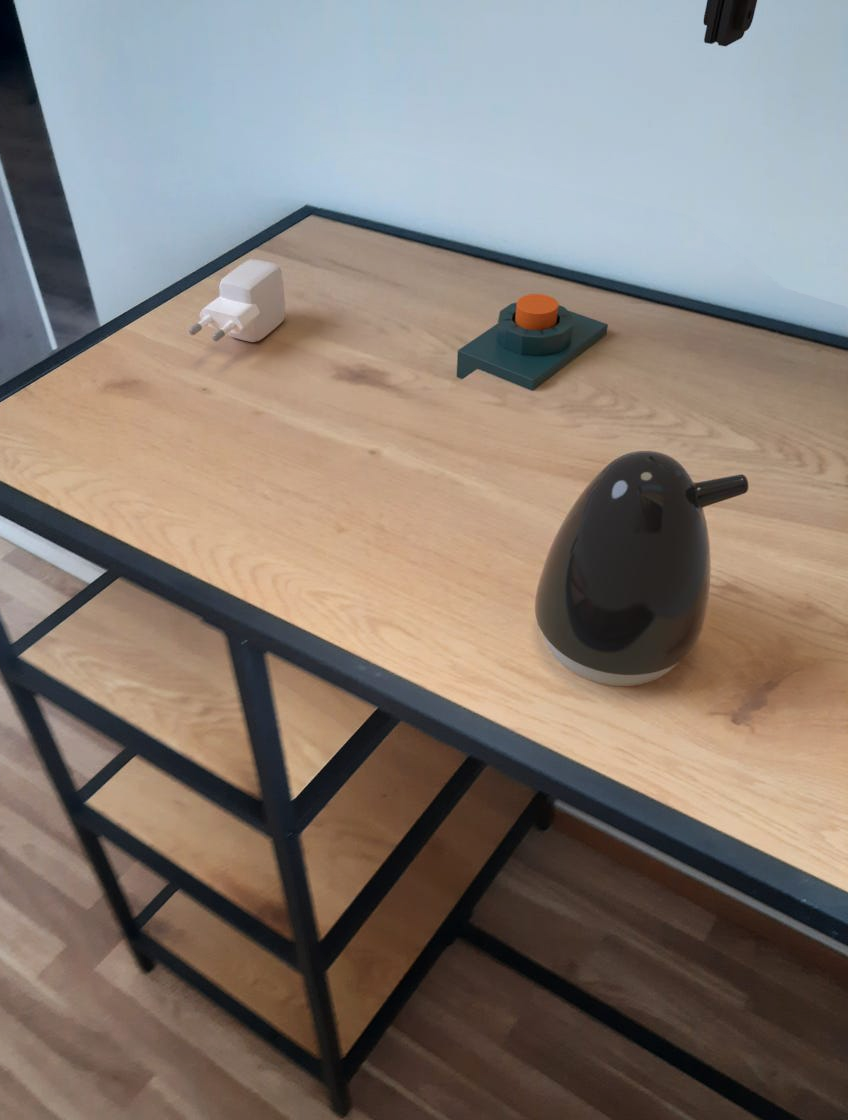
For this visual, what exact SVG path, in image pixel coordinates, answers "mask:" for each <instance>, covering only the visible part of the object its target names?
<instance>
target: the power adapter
mask: <svg viewBox="0 0 848 1120" xmlns="http://www.w3.org/2000/svg"><path fill="white" fill-rule="evenodd" d="M282 271H283V270H282V269H281V267H280V266H279V265H278V264H277V263H274V262H270V261H266V260H261V259H253V258H250V259H247V260H246V261H244V262H243V263H241V264H240V265H238V266H237V267H235V268H234V269H233V270H231V271H229V272H228V273H227V274H226V275H225V276H224V277H222V278H221V280H220V283H219V287H218V291H219V296H218V297H216V298H215V299H213V300H212V301H211V302H210V303H208V304H207V305H205V306H204V307H203V308H201V311H200V313H199V314H198V315H199V318H200V320H199V321H198V322H196V323H195V324H194V325H192V326H190V328H189V329H188V333H189V334H190V335H191V336H195V335H196V334H198V333H199V332H201V331H202V330H203V329H204V328H205V327H208V328H211V329H215V330H217V331H215V332H213V334H212V335H211V338H212V341H214V342H219V341H220V340H221V339H223V338H224V337H225V336H226V335H228V336H229V337H230V338H235V339H237V340H241V341H245V342H250V343H257V342H260V341H261V340H263V339H264V338H265V337H266V336H268V335H269V334H270V333H272V332H273V331H274V330H275V329H276V328H278V326H280V325H281V324H282V322H284V320H285V317H286V315H287V311H286V297H285V287H284V278H283V272H282Z"/></svg>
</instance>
